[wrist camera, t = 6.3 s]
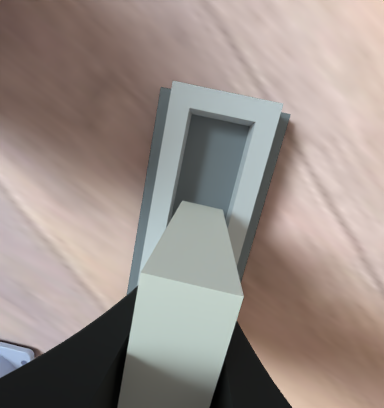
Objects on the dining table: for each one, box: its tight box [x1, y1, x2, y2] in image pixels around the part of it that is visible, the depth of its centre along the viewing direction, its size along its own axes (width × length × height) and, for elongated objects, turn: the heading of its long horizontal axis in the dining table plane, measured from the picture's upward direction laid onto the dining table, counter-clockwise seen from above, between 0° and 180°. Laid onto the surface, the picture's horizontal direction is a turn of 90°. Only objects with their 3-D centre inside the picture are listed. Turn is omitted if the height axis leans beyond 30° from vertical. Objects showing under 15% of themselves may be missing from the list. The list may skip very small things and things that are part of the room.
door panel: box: [117, 201, 244, 408], centre depth 8 cm, size 8×2×6 cm, turn 168°
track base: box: [127, 81, 290, 295], centre depth 13 cm, size 18×7×2 cm, turn 168°
